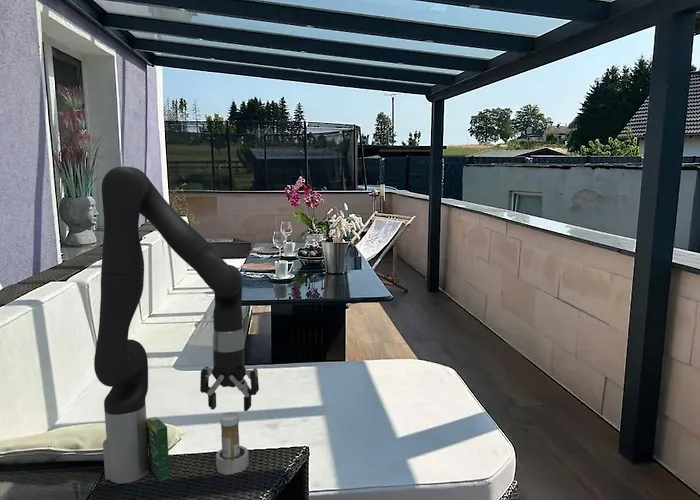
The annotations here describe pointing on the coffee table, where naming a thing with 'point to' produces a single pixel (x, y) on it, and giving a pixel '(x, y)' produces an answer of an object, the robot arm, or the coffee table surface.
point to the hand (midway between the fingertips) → (230, 409)
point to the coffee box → (158, 448)
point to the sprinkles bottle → (230, 435)
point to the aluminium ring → (232, 462)
